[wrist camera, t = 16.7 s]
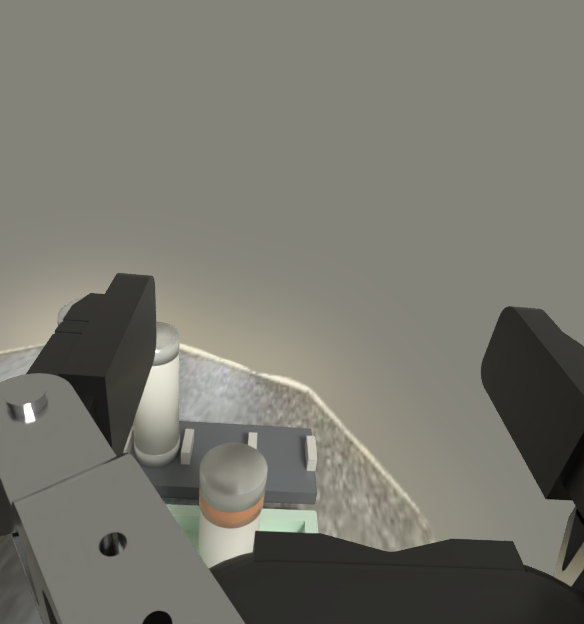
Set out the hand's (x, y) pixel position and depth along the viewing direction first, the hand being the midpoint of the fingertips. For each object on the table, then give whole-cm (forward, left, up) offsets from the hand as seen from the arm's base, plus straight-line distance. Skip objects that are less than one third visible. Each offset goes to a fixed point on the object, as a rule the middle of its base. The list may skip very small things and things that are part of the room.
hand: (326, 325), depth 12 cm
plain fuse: (-9, +24, -31) cm, 40 cm away
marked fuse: (-2, +12, -31) cm, 33 cm away
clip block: (-4, +24, -32) cm, 40 cm away
